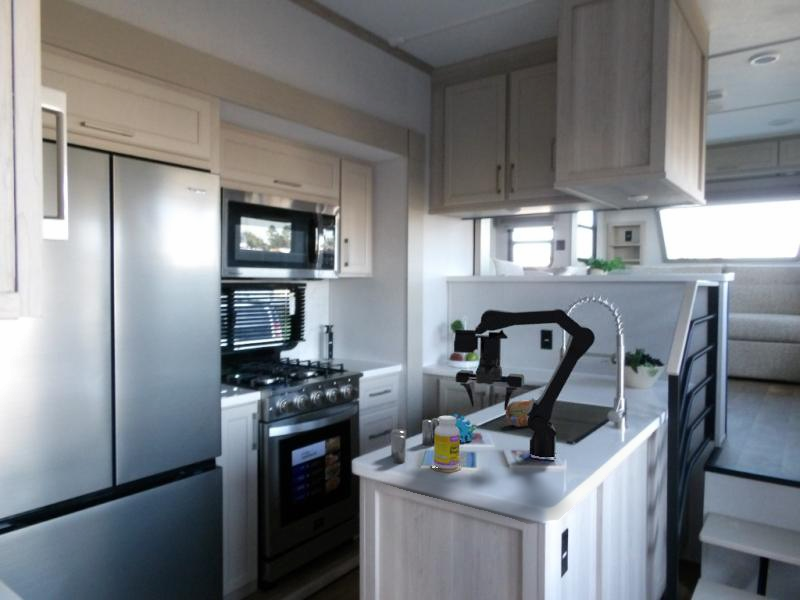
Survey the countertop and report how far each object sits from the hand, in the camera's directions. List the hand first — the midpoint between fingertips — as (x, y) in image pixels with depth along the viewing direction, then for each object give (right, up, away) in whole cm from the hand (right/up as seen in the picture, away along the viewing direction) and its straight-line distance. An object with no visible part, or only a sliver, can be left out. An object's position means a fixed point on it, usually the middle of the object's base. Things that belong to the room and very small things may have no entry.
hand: (489, 408), depth 163 cm
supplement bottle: (-13, -13, -11) cm, 22 cm away
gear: (-7, -13, +14) cm, 20 cm away
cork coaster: (-13, -13, -12) cm, 22 cm away
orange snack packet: (+18, -12, +34) cm, 40 cm away
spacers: (-21, -13, +2) cm, 25 cm away
